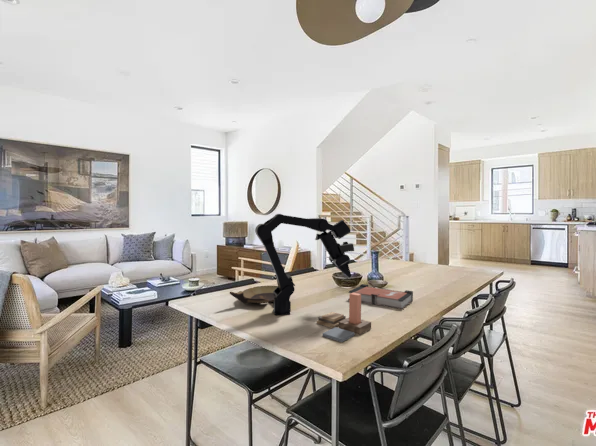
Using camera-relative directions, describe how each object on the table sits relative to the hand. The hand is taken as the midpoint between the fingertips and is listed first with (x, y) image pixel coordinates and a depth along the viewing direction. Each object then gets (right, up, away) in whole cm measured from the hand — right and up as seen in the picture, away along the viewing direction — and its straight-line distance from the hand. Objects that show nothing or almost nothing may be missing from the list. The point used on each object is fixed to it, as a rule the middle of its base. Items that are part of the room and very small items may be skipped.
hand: (348, 275), depth 145 cm
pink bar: (-1, -16, -22) cm, 28 cm away
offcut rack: (-4, -16, -19) cm, 25 cm away
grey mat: (-8, -16, -29) cm, 35 cm away
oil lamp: (-41, -15, +13) cm, 45 cm away
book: (+18, -15, +16) cm, 29 cm away
